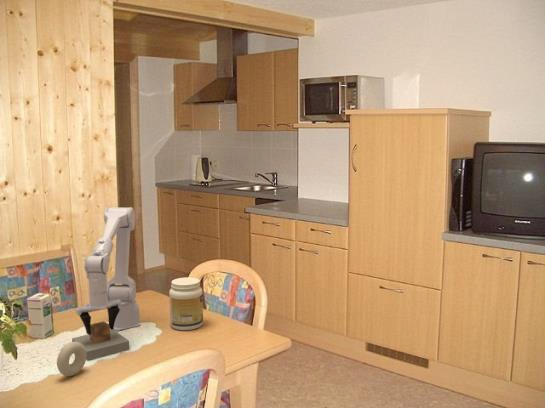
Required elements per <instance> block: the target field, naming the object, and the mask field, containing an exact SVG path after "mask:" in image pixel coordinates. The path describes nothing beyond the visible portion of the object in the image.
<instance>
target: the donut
mask: <svg viewBox="0 0 545 408" xmlns="http://www.w3.org/2000/svg"><path fill="white" fill-rule="evenodd" d="M73 354H74V358H73V361H72V362H71V363H70V358H71V357H72V355H73ZM86 355H87V353H86V349H85V347H84V346H83V345H82V344H81V343H79V342H72V341H71V342H69V343H66V344H65V345H63V347H62V348H61V349H60V351H59V352H58V355H57V359H56V367H57V370H58V371H59V373H60V374H62V375H63V376H65V377H72V376H75V375H77V374H78V373H80V372H81V370H82V369H83V367H84V366H85V364H86V362H87V360H86Z"/></svg>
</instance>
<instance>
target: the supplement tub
mask: <svg viewBox="0 0 545 408" xmlns="http://www.w3.org/2000/svg"><path fill="white" fill-rule="evenodd" d="M170 286H171V288H170V289H169V293H168V294H169V323H170V326H171V327H172V328H173V329H174V330H179V331H191V330H195V329H199V328H200V327H201V326H202V325H203V324H204V304H203V303H204V301H203V300H204V299H203V288H202V287H201V281H200V279H199V278H196V277H190V276H189V277H178V278H175V279H173V280H171V284H170Z"/></svg>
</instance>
